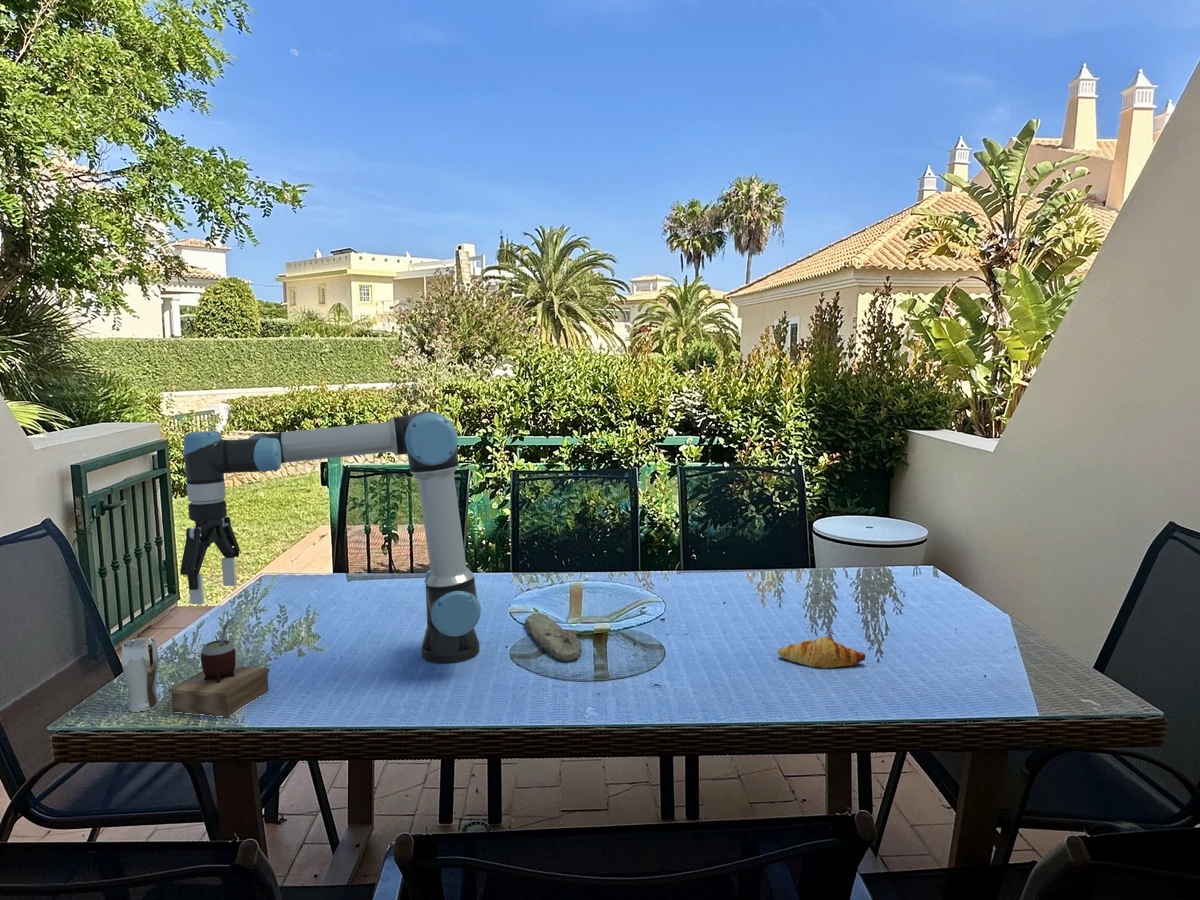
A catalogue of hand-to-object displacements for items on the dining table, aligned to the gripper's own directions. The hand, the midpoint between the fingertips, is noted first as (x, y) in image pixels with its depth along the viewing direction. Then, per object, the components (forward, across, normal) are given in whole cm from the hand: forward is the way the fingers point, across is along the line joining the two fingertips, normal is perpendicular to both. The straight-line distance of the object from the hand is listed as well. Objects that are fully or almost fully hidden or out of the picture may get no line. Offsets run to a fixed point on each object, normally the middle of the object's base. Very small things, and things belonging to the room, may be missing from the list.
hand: (214, 594), depth 172 cm
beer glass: (+25, +3, -16) cm, 30 cm away
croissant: (+27, -24, +141) cm, 146 cm away
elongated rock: (+26, -39, +71) cm, 86 cm away
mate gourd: (+20, 0, 0) cm, 20 cm away
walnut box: (+26, 0, 0) cm, 26 cm away
